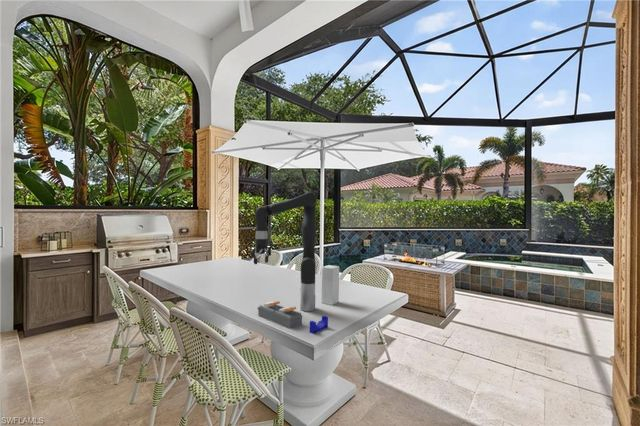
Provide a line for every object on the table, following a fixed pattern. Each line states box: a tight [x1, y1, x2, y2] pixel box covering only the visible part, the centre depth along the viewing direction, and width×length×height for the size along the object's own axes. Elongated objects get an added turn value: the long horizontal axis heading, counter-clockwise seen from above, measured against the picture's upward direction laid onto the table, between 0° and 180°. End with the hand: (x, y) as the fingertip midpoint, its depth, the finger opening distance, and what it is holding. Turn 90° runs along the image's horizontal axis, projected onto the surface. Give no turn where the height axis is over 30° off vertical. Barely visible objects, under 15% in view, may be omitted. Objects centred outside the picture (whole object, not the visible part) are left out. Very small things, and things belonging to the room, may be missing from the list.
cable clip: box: [308, 315, 329, 335], centre depth 163 cm, size 12×4×6 cm, turn 141°
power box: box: [257, 304, 303, 329], centre depth 178 cm, size 34×9×6 cm, turn 48°
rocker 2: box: [279, 306, 297, 311], centre depth 171 cm, size 9×5×1 cm, turn 48°
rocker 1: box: [263, 301, 281, 306], centre depth 180 cm, size 9×5×1 cm, turn 48°
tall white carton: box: [321, 264, 340, 306], centre depth 210 cm, size 9×9×25 cm
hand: (261, 263), depth 194 cm, fingers open, 8 cm apart
